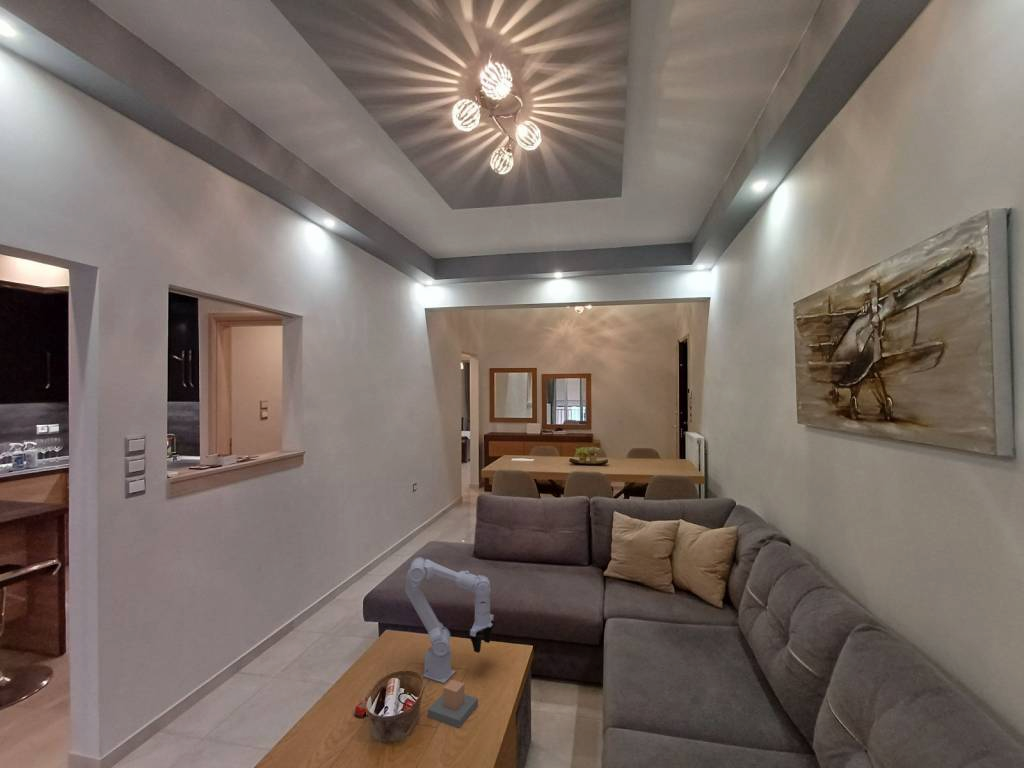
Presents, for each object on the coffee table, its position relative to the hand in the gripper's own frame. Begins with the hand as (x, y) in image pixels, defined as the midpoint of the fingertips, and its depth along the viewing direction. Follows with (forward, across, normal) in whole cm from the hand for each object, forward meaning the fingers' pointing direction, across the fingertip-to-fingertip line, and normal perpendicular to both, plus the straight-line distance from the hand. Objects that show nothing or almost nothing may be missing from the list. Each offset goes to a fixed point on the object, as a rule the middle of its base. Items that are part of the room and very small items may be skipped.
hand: (482, 646), depth 181 cm
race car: (+10, -33, +23) cm, 42 cm away
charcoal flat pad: (+10, -23, -2) cm, 25 cm away
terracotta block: (+8, -23, -2) cm, 24 cm away
